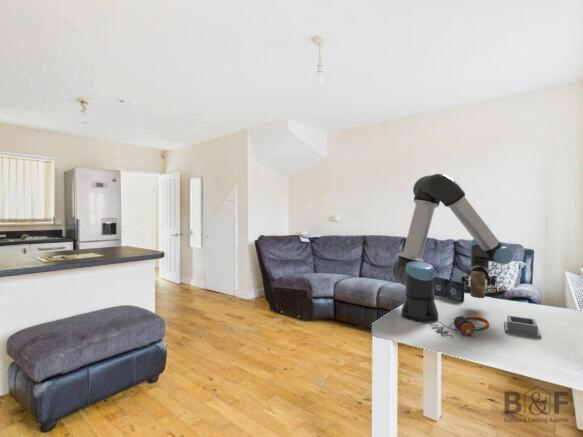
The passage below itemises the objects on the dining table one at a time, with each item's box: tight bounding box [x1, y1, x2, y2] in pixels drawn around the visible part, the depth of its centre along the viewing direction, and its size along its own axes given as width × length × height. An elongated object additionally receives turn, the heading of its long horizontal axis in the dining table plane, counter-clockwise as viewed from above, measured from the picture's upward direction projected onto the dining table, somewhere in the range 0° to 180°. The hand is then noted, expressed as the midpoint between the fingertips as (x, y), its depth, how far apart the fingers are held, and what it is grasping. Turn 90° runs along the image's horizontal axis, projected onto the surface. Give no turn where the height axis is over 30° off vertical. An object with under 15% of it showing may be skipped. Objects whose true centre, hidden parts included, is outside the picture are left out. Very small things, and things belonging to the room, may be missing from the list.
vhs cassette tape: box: [434, 275, 465, 303], centre depth 173 cm, size 18×3×10 cm, turn 27°
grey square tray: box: [503, 315, 542, 339], centre depth 126 cm, size 11×11×4 cm
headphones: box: [429, 315, 490, 339], centre depth 125 cm, size 17×5×20 cm
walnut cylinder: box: [470, 271, 486, 299], centre depth 133 cm, size 5×5×10 cm
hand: (477, 284), depth 129 cm, fingers closed on walnut cylinder, 5 cm apart
